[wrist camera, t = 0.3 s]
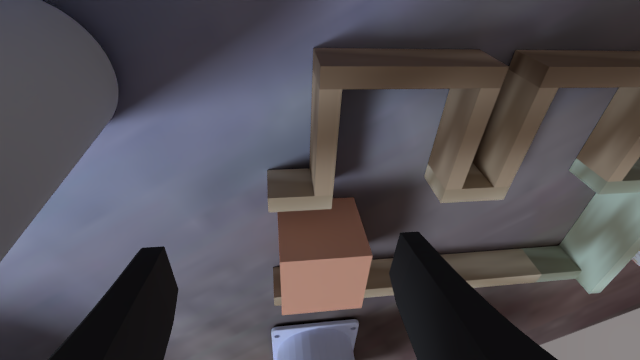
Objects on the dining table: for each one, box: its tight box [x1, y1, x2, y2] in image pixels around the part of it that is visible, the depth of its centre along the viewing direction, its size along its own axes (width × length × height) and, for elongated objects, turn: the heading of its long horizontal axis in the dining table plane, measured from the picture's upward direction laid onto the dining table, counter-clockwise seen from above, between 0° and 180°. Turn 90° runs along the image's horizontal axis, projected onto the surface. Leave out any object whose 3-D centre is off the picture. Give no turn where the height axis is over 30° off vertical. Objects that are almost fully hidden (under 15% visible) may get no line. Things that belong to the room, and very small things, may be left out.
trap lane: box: [267, 48, 640, 306], centre depth 21 cm, size 17×25×4 cm
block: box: [278, 197, 373, 315], centre depth 21 cm, size 5×5×5 cm
